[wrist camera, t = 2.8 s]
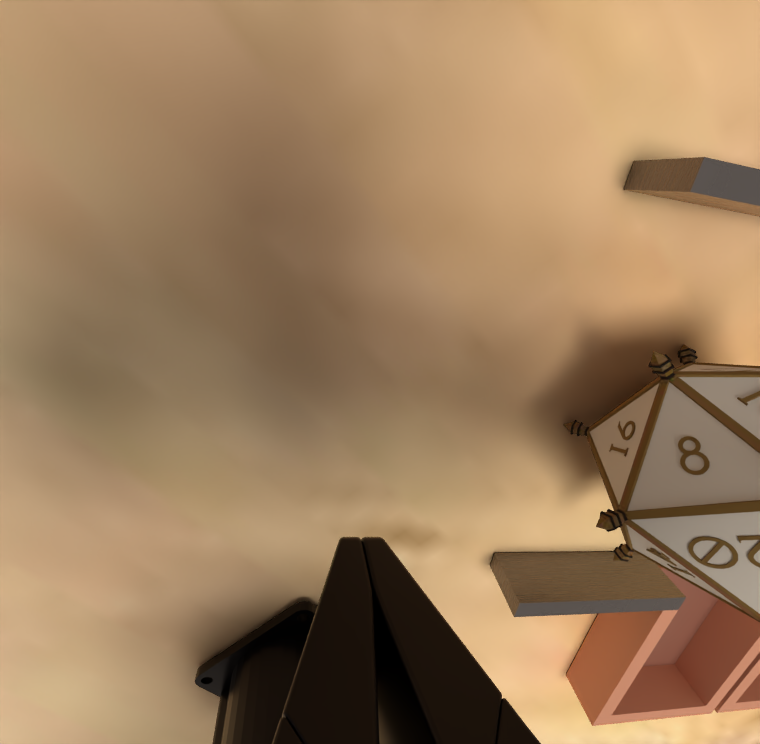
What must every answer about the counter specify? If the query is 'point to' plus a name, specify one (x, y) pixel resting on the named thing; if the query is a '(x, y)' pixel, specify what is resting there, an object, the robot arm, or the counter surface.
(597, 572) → the lane rails
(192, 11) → the counter surface
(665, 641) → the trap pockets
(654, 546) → the game die
